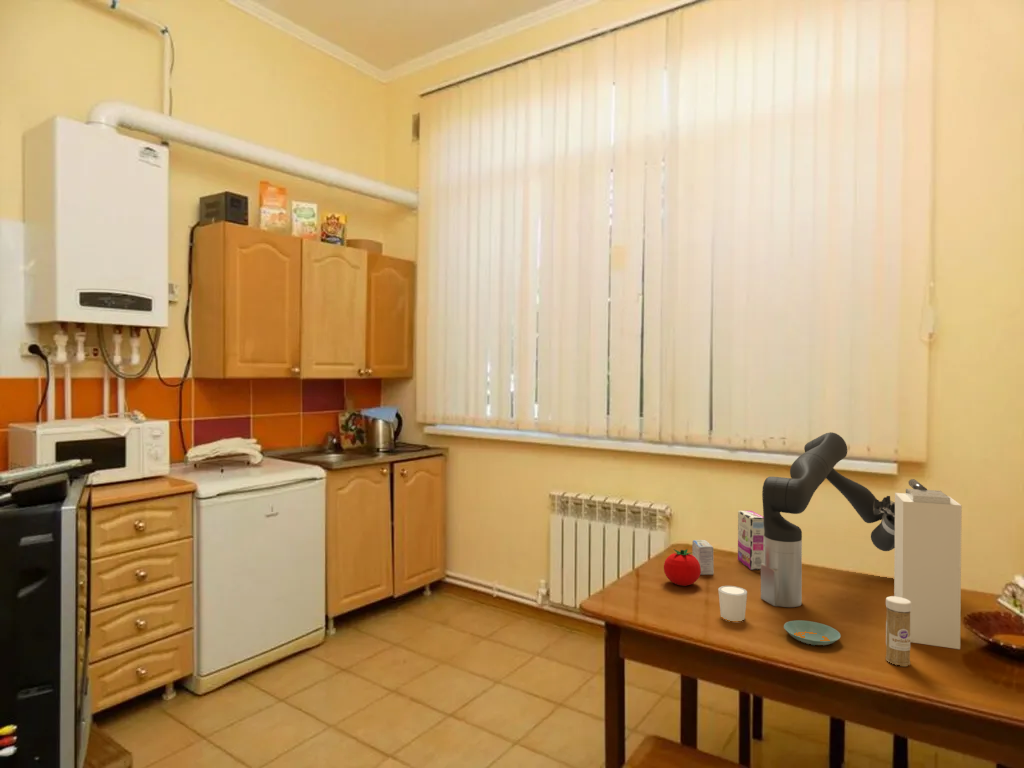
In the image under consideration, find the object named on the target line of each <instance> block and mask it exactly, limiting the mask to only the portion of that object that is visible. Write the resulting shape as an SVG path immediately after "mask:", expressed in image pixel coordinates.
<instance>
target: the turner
mask: <svg viewBox="0 0 1024 768" xmlns="http://www.w3.org/2000/svg"><path fill="white" fill-rule="evenodd" d="M908 486H910V488H905V493H906V495H907V496H908V497H909V498H910V499H911V500H912V501H913V502H925V503H939V504H950V497H951V496H950V497H948V496H949V495H947V494H946V493H945V492H943V491H942V490H934V489H933V490H932V489H927V487H925V486H924V484H922V483H920V482H919V481H918V480H916V479H913V478H911V479H909V481H908Z"/></svg>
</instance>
